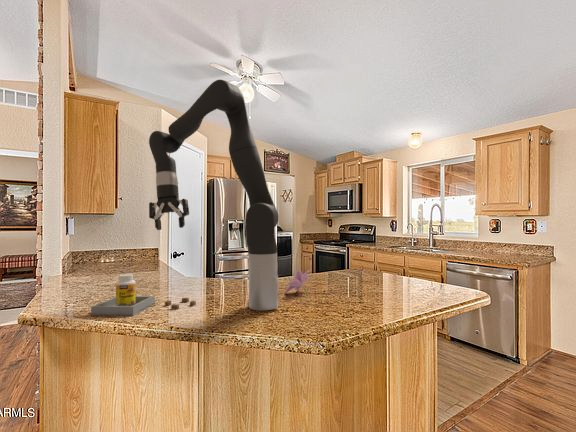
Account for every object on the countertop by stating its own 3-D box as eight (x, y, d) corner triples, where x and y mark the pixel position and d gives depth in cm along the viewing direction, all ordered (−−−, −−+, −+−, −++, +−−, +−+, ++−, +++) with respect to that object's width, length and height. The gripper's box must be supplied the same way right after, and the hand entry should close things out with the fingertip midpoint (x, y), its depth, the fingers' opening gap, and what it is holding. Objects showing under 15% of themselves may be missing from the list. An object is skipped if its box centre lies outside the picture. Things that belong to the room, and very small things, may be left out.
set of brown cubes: (199, 301, 106) (199, 297, 106) (189, 309, 97) (189, 305, 97) (172, 301, 107) (172, 297, 107) (159, 309, 97) (159, 305, 97)
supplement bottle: (116, 310, 94) (116, 277, 94) (115, 306, 99) (115, 274, 99) (136, 307, 97) (136, 275, 97) (134, 303, 102) (134, 272, 102)
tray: (154, 303, 104) (154, 296, 104) (133, 315, 91) (133, 306, 91) (117, 303, 104) (117, 296, 104) (91, 315, 91) (91, 306, 91)
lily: (315, 292, 121) (304, 270, 124) (324, 286, 111) (312, 262, 114) (288, 305, 117) (277, 282, 120) (295, 300, 107) (283, 275, 109)
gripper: (143, 185, 111) (146, 230, 110) (181, 181, 110) (184, 226, 109) (154, 189, 118) (156, 230, 117) (189, 184, 117) (193, 227, 116)
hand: (170, 228), depth 113 cm, fingers open, 8 cm apart
